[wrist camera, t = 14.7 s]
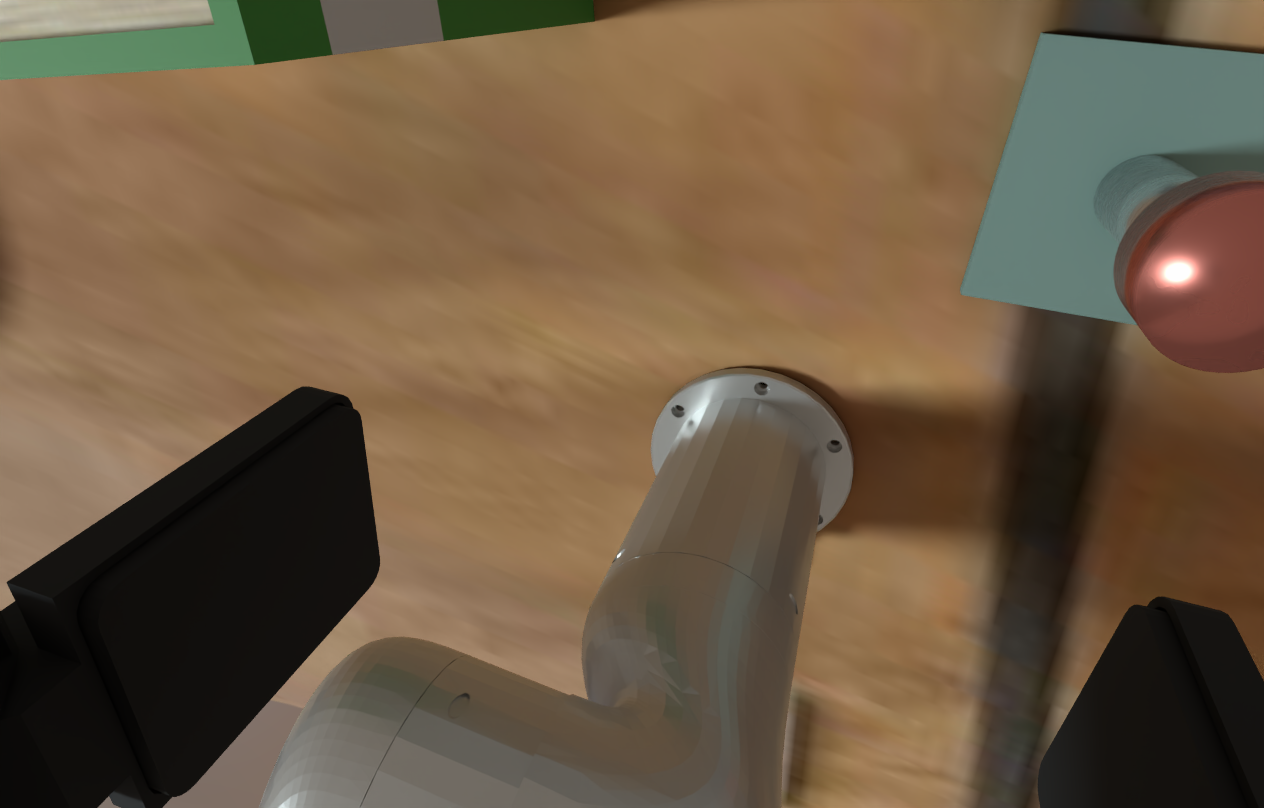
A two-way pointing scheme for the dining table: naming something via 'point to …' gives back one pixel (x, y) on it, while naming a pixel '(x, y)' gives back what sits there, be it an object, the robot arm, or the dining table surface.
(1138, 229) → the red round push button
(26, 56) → the green cereal box
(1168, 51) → the mat
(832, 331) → the dining table surface
